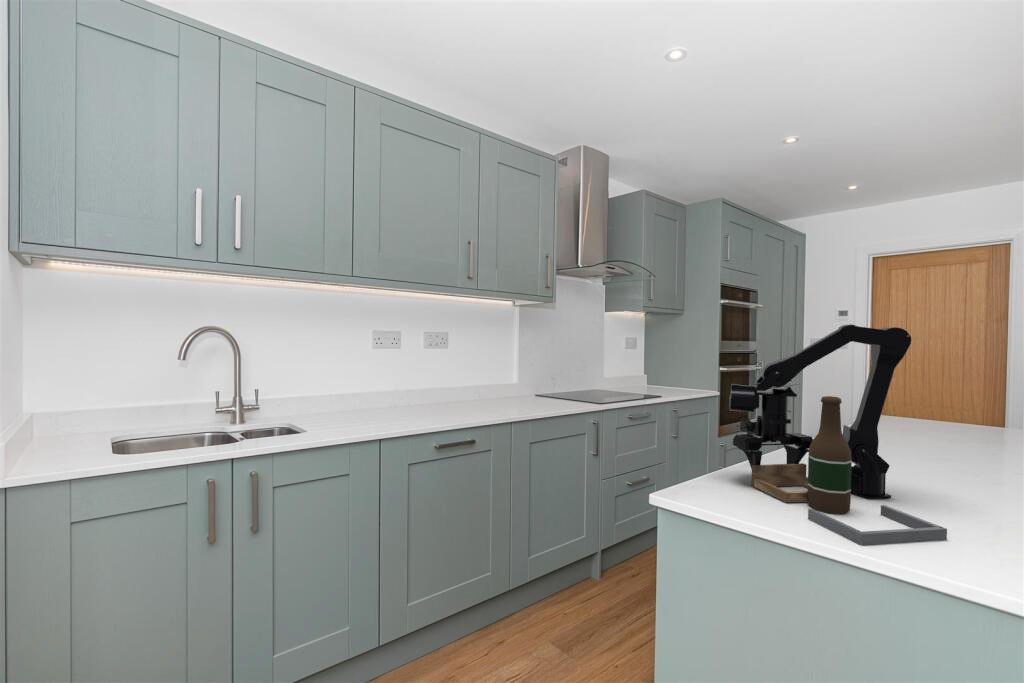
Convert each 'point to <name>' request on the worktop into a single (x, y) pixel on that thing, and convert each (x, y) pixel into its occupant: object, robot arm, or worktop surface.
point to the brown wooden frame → (781, 480)
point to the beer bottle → (829, 463)
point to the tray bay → (918, 533)
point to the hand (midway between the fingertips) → (772, 475)
